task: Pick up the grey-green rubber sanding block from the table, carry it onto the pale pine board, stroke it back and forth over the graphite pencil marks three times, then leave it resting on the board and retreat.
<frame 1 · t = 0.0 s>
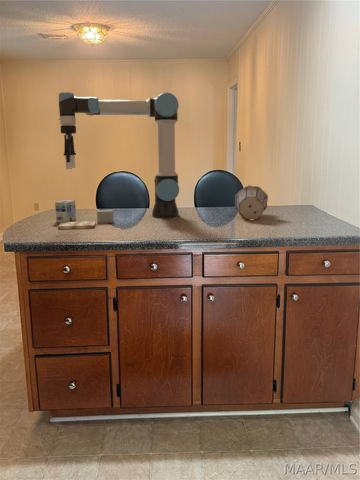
hand: (70, 168, 211), 28 cm above the table, fingers open, 13 cm apart
sanding block: (105, 222, 218), on the table
light bulb box: (66, 221, 221), on the table
faceted geometric planter: (250, 216, 231), on the table
board: (77, 226, 205), on the table
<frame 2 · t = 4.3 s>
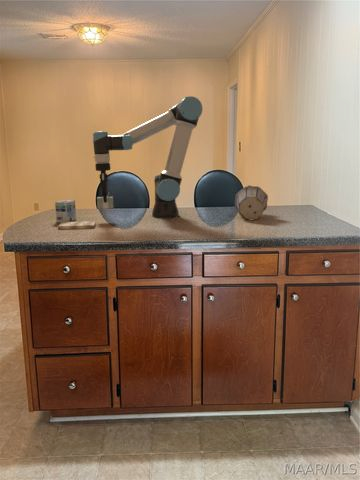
hand: (106, 207, 216), 7 cm above the table, fingers closed on sanding block, 5 cm apart
sanding block: (105, 208, 216), point 7 cm above the table, touching gripper
everything else where it was.
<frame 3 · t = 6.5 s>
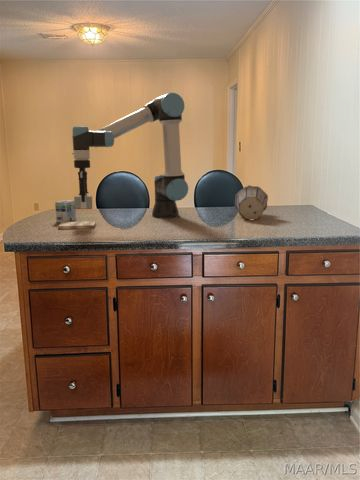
hand: (84, 207, 203), 9 cm above the table, fingers closed on sanding block, 5 cm apart
sanding block: (83, 208, 203), point 9 cm above the table, touching gripper
everything else where it was.
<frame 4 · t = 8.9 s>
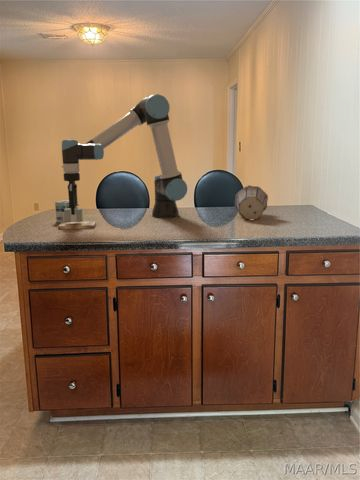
hand: (74, 220, 204), 3 cm above the table, fingers closed on sanding block, 5 cm apart
sanding block: (73, 220, 204), point 3 cm above the table, touching gripper
everything else where it was.
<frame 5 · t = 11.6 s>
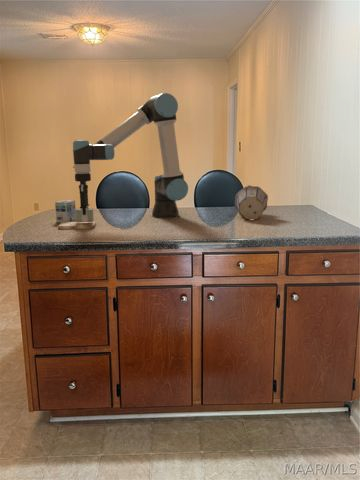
hand: (85, 220, 205), 3 cm above the table, fingers closed on sanding block, 5 cm apart
sanding block: (84, 221, 205), point 3 cm above the table, touching gripper
everything else where it was.
when the fingers open (3 cm above the table, at t = 13.8 s): sanding block drops 1 cm, resting on board.
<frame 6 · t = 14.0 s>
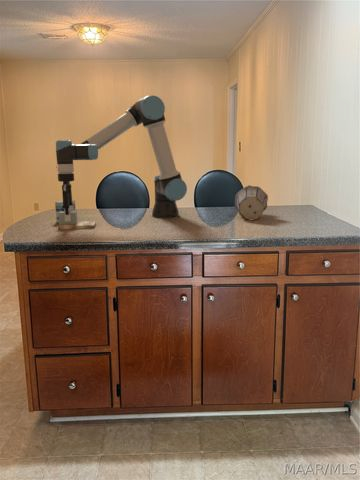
hand: (68, 219, 204), 4 cm above the table, fingers open, 7 cm apart
sanding block: (68, 223, 204), point 2 cm above the table, touching board
everything else where it was.
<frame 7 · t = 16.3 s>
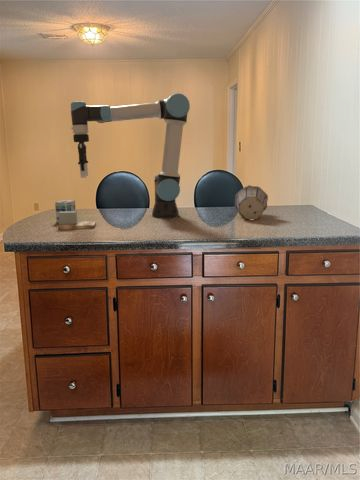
hand: (84, 176, 211), 24 cm above the table, fingers open, 13 cm apart
nothing on the table moved.
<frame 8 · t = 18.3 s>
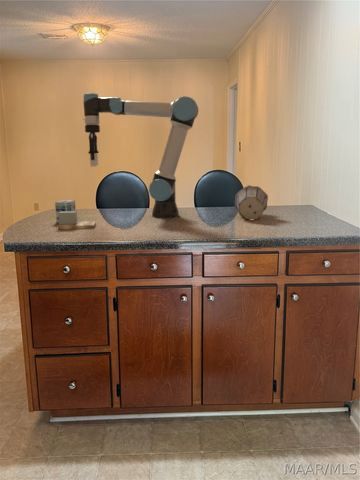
hand: (94, 166, 220), 29 cm above the table, fingers open, 13 cm apart
nothing on the table moved.
at the end: sanding block inside the target area on the board (4.3 cm from its centre), point 1.5 cm above the board's base; sanding block tilted 0°; the gripper is holding nothing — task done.
